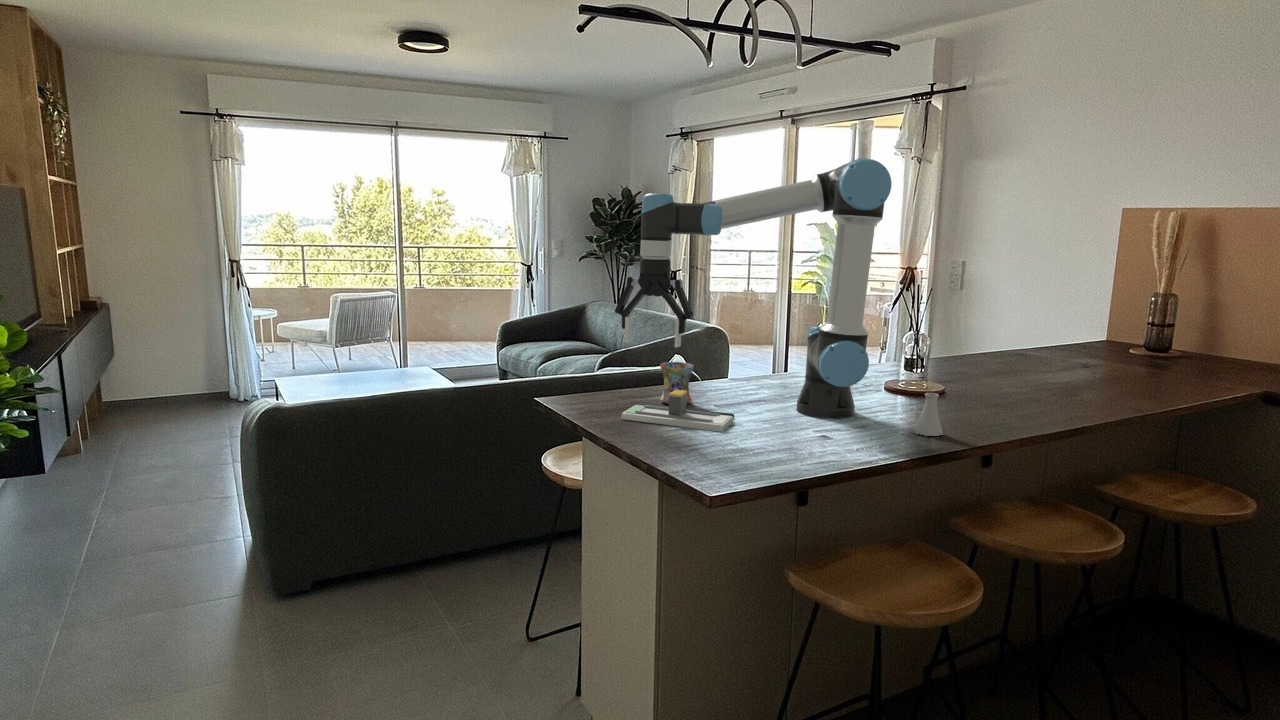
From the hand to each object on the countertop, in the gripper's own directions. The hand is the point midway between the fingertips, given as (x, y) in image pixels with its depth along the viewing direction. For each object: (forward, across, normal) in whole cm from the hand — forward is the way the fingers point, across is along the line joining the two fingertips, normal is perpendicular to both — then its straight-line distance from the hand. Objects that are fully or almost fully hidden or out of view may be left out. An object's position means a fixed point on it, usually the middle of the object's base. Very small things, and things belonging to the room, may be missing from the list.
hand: (652, 344), depth 192 cm
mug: (+19, 0, -19) cm, 26 cm away
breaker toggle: (+17, -7, 0) cm, 18 cm away
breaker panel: (+19, -7, 0) cm, 20 cm away
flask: (+19, -66, -16) cm, 71 cm away
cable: (+19, -8, -8) cm, 22 cm away
